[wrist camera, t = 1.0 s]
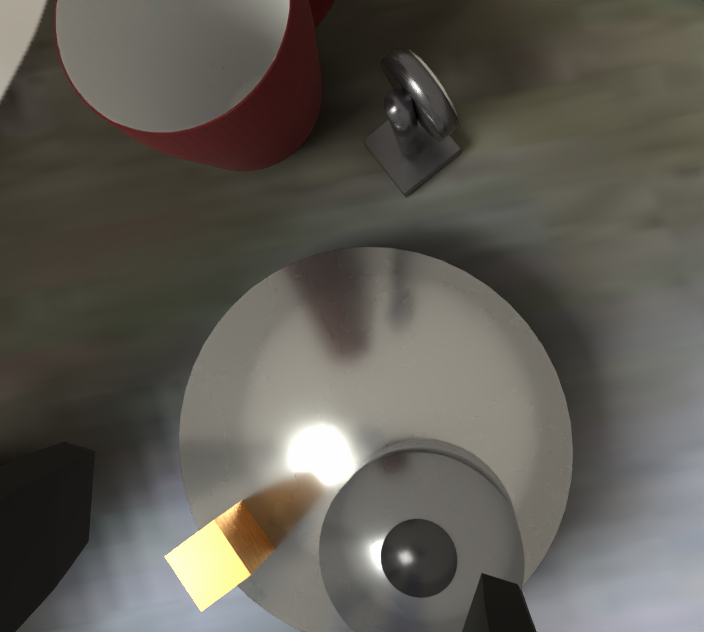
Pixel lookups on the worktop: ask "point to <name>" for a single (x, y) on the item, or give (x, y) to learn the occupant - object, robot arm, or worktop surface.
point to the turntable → (355, 415)
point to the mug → (198, 73)
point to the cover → (417, 538)
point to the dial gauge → (414, 123)
